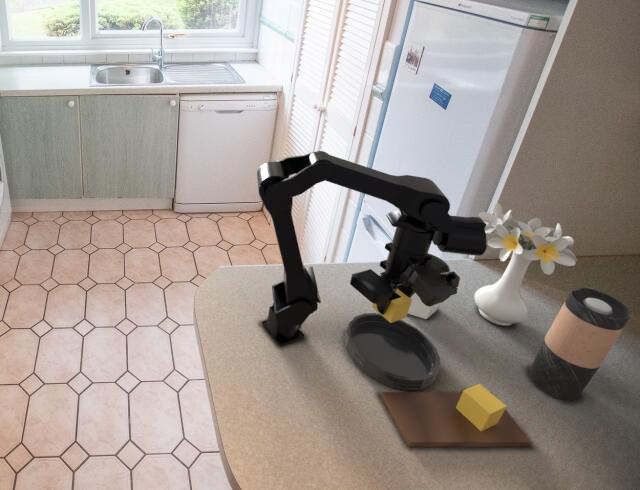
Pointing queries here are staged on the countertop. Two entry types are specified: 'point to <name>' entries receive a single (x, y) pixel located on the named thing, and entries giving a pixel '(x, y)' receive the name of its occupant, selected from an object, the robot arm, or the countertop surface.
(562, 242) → the flower vase
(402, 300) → the cheese back
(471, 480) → the countertop surface
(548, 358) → the travel mug
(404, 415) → the board
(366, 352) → the pan
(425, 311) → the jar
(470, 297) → the countertop surface
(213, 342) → the countertop surface
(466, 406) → the cheese front
